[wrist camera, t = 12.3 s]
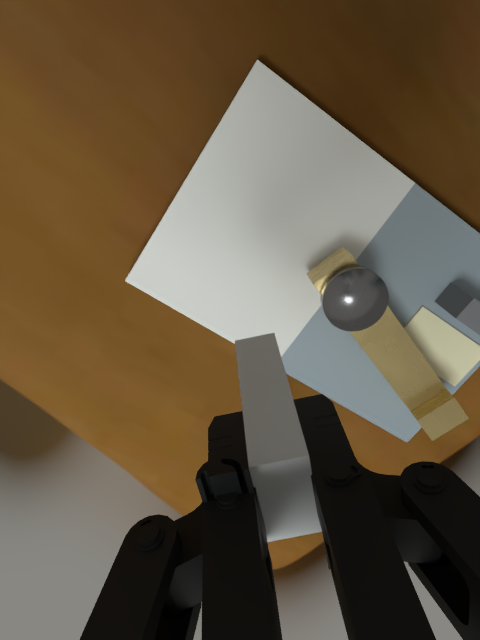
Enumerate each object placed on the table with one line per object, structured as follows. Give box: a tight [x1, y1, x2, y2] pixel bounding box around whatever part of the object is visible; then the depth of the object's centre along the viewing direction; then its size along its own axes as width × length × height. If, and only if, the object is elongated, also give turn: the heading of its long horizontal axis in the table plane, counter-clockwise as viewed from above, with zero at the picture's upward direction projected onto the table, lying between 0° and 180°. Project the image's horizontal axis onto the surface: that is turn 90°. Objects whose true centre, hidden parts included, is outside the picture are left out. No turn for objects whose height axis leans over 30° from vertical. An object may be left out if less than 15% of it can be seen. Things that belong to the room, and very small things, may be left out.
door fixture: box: [125, 60, 480, 442], centre depth 28 cm, size 14×23×4 cm, turn 56°
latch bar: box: [306, 246, 469, 441], centre depth 28 cm, size 13×4×3 cm, turn 38°
